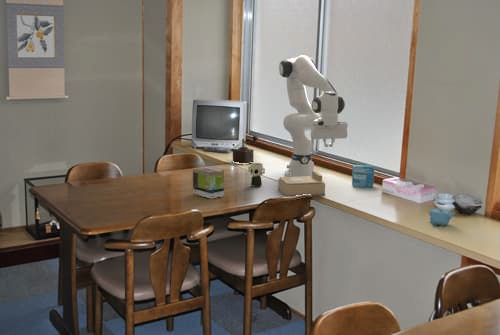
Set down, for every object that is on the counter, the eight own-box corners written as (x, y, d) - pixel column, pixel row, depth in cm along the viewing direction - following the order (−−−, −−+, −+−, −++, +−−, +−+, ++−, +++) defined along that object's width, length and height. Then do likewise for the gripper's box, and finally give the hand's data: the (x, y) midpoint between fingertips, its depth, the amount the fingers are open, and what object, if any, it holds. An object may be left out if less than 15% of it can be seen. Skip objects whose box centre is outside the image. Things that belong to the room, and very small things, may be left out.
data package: (351, 186, 369) (352, 166, 366) (352, 185, 373) (353, 164, 371) (373, 187, 366) (374, 167, 364) (373, 186, 371) (374, 165, 368)
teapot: (456, 225, 295) (457, 209, 294) (453, 228, 290) (454, 212, 288) (430, 221, 301) (431, 205, 300) (426, 224, 296) (427, 208, 294)
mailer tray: (278, 190, 359) (278, 178, 358) (316, 188, 364) (316, 177, 362) (285, 196, 344) (285, 185, 343) (324, 195, 349) (325, 183, 348)
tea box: (224, 197, 343) (224, 170, 340) (209, 200, 337) (209, 172, 334) (207, 192, 354) (207, 165, 351) (192, 194, 348) (192, 168, 345)
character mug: (244, 186, 368) (245, 164, 365) (251, 184, 374) (251, 162, 371) (261, 188, 362) (261, 166, 360) (267, 186, 368) (268, 164, 366)
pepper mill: (245, 165, 426) (245, 138, 423) (232, 163, 433) (232, 137, 429) (259, 162, 439) (259, 135, 435) (246, 160, 445) (246, 134, 441)
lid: (279, 178, 358) (279, 171, 357) (315, 176, 362) (315, 170, 361) (286, 184, 343) (286, 177, 342) (324, 182, 347) (324, 176, 347)
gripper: (345, 120, 354) (344, 145, 357) (309, 121, 350) (309, 146, 353) (349, 121, 348) (348, 147, 351) (313, 122, 344) (312, 148, 347)
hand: (328, 146), depth 352 cm, fingers closed
